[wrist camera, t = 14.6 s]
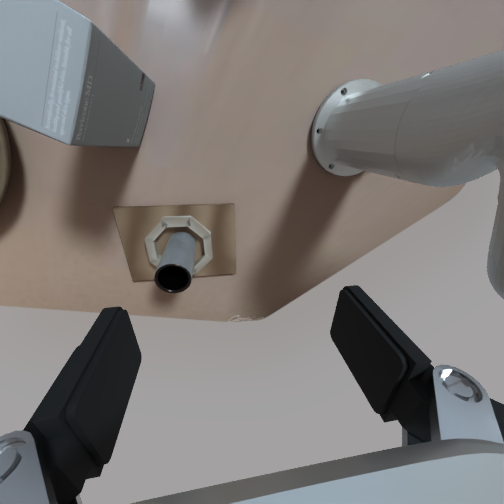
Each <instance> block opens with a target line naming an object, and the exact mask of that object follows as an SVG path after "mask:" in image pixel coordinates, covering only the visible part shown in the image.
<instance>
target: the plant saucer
mask: <svg viewBox="0 0 504 504" xmlns="http://www.w3.org/2000/svg"><path fill="white" fill-rule="evenodd" d="M10 173H11V150H10V143H9V138H8V134H7V130H6V127H5V124H4V121H3V118H1V117H0V204H1V202H2V200H3V198H4V196H5V194H6V191H7V188H8V184H9V179H10Z"/></svg>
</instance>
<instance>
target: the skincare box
mask: <svg viewBox="0 0 504 504" xmlns="http://www.w3.org/2000/svg"><path fill="white" fill-rule="evenodd" d="M154 87H155V83H154V82H153V81H152V80H151V79H150V78H149V77H148V76H147V75H146V74H145V73H144V72H143V71H142V70H141V69H140V68H139V67H138V66H137V65H136V64H135V63H134V62H133V61H132V60H130V59H129V58H128V57H127V56H126V55H125V54H124V53H123V52H122V51H121V50H120V49H119V48H118V47H117V46H116V45H115V44H114V43H113V42H112V41H111V40H110V39H109V38H108V37H107V36H106V35H105V34H104V33H103V32H102V31H101V30H100V29H99V28H98V27H97V26H96V25H94V24H93V23H92V22H91V21H90V20H89V19H88V18H86V17H85V16H83V15H81V14H80V13H78V12H77V11H75V10H73V9H72V8H70V7H69V6H67V5H65V4H64V3H62V2H60V1H59V0H0V117H1V118H4V119H6V120H9V121H11V122H13V123H16V124H18V125H21V126H23V127H26V128H28V129H30V130H33V131H35V132H38V133H40V134H43V135H45V136H48V137H50V138H53V139H55V140H57V141H60V142H62V143H65V144H67V145H76V146H110V147H139V146H140V142H141V139H142V135H143V132H144V129H145V125H146V122H147V118H148V114H149V110H150V106H151V102H152V97H153V92H154Z"/></svg>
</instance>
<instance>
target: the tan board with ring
mask: <svg viewBox="0 0 504 504" xmlns="http://www.w3.org/2000/svg"><path fill="white" fill-rule="evenodd" d="M113 212H114V216H115V219H116V223H117V226H118V230H119V233H120V237H121V240H122V244H123V247H124V251H125V254H126V258H127V261H128V265H129V268H130V272H131V275H132V279H133V281H142V280H154V275H155V272H156V269H157V267H158V264H159V262H160V259H161V257H162V254H163V252H164V249H165V247H166V245H167V242H168V240H169V238H170V236H171V235H173V234H174V233H176V232H186V233H189V234H190V235H192V236H193V237H194V239H195V241H196V251H195V259H194V266H193V274H192V277H195V276H208V275H222V274H235V273H236V257H235V217H234V204H200V205H167V206H133V207H114V208H113Z"/></svg>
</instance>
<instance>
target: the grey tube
mask: <svg viewBox="0 0 504 504" xmlns="http://www.w3.org/2000/svg"><path fill="white" fill-rule="evenodd" d="M195 251H196V241H195V239H194V237H193V236H192V235H190V234H189V233H186V232H176V233H174V234H173V235H171V236H170V238H169V240H168V242H167V245H166V247H165V249H164V252H163V254H162V257H161V259H160V262H159V264H158V267H157V269H156V272H155V275H154V280H155V283H156V285H157V286H158V287H159V288H160V289H161V290H163V291H165V292H168V293H179V292H182V291H184V290H186V289H187V288H188V287H189V286H190V284H191V281H192V274H193V266H194V259H195Z"/></svg>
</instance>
